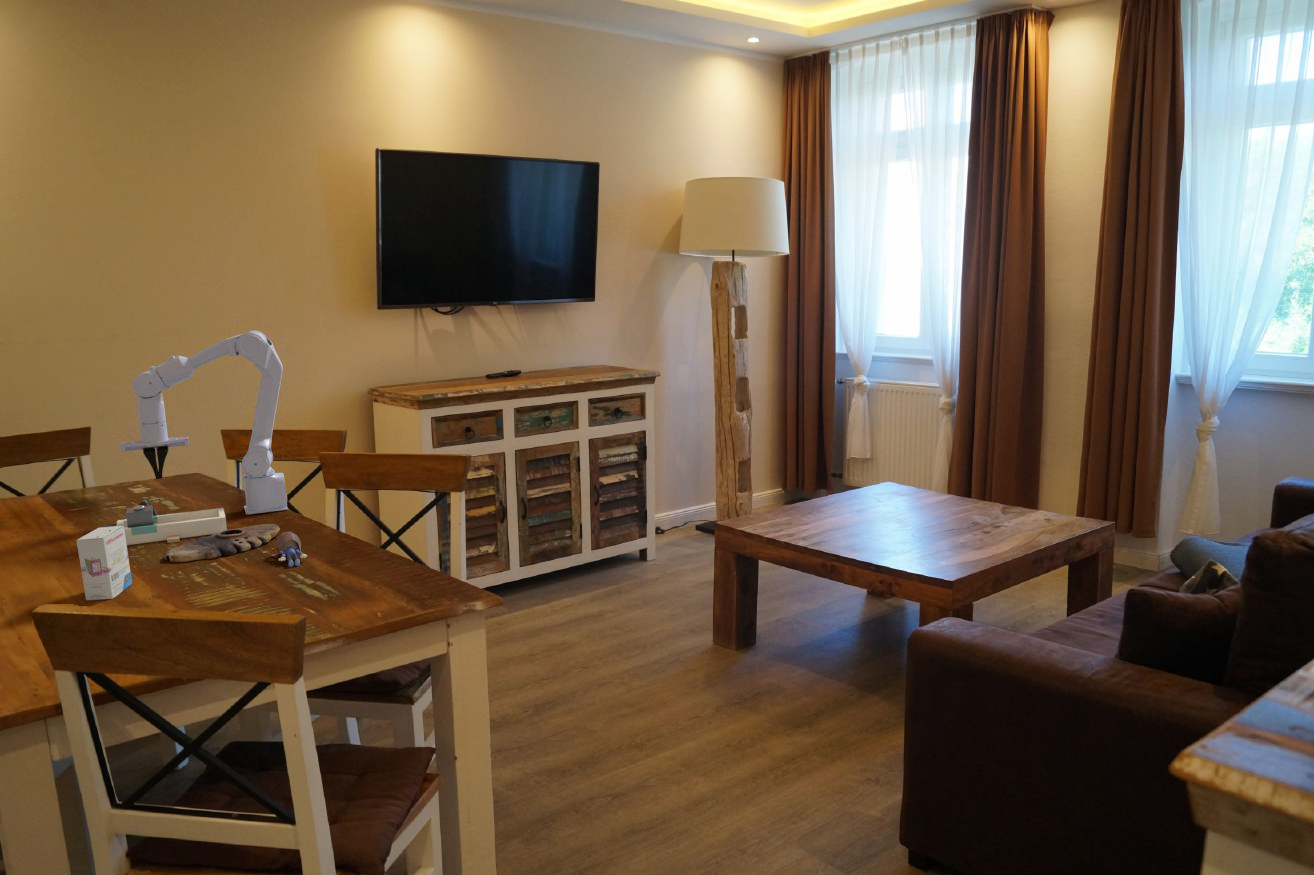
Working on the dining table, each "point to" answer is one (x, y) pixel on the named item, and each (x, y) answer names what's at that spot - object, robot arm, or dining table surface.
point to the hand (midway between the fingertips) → (159, 478)
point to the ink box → (104, 562)
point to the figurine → (289, 548)
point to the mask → (223, 543)
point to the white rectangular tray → (176, 526)
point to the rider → (139, 516)
